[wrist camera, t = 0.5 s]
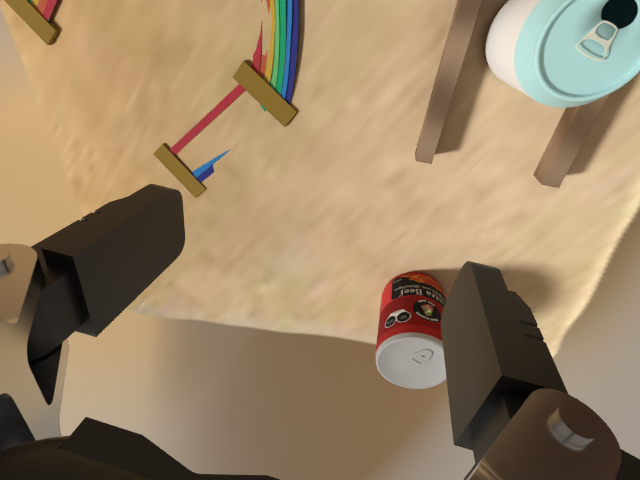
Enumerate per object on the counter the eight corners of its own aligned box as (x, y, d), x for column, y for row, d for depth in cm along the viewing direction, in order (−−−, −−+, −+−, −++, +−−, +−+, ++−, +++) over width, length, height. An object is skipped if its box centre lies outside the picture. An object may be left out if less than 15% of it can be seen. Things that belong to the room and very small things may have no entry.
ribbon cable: (149, -407, 21) (-6, -18, 35) (138, -426, 21) (-17, -19, 35) (406, 22, 30) (201, 198, 44) (406, 22, 29) (196, 201, 43)
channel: (531, -264, 21) (554, -319, 18) (772, -253, 19) (847, -310, 16) (415, 152, 35) (415, 166, 32) (549, 177, 34) (564, 194, 30)
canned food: (456, 282, 42) (468, 353, 33) (428, 325, 47) (432, 399, 37) (395, 261, 42) (392, 326, 33) (373, 306, 47) (365, 374, 38)
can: (484, -1, 28) (526, -16, 18) (588, -29, 26) (701, -62, 16) (483, 91, 31) (519, 123, 21) (575, 74, 29) (662, 100, 19)
